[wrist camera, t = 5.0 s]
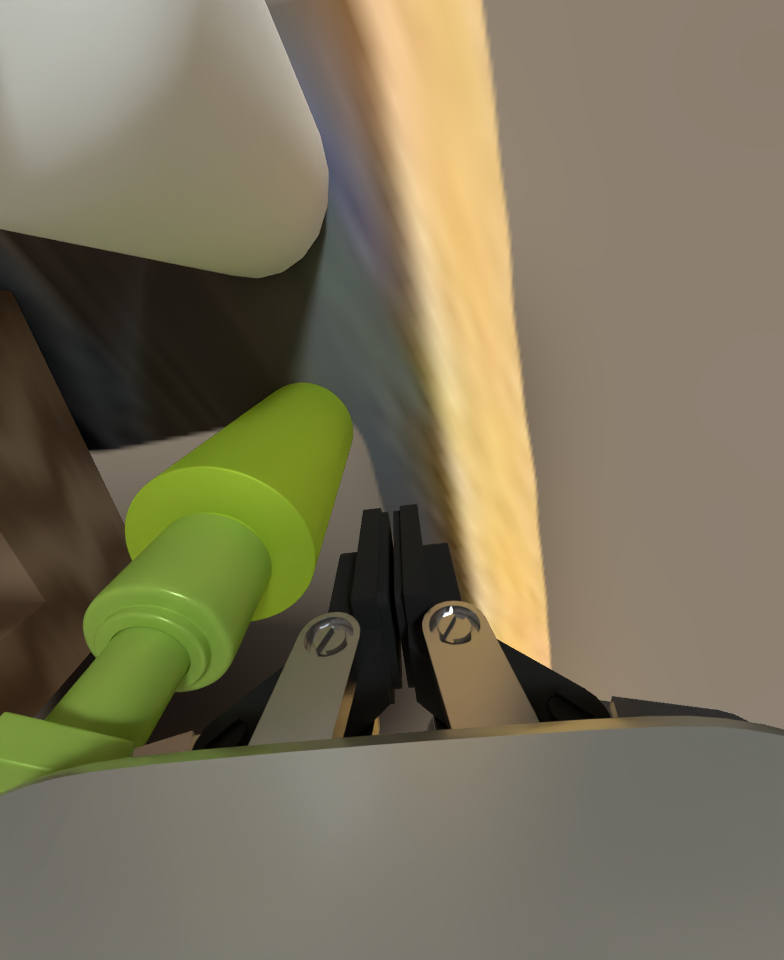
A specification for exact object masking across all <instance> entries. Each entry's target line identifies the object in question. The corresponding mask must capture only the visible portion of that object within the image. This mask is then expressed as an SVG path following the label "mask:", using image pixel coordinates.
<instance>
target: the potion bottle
mask: <svg viewBox="0 0 784 960" xmlns="http://www.w3.org/2000/svg"><path fill="white" fill-rule="evenodd" d="M328 175H329V171H328V167H327V163H326V158H325V154H324V149H323V145H322V141H321V136H320V134H319V131H318V129H317V127H316V124H315V122H314V119H313V117H312V114H311V112H310V110H309V107H308V105H307V102H306V100H305V97H304V95H303V93H302V90H301V88H300V85H299V83H298V80H297V78H296V76H295V73H294V71H293V68H292V66H291V63H290V61H289V59H288V56H287V54H286V51H285V49H284V46H283V44H282V42H281V39H280V37H279V34H278V32H277V29H276V27H275V24H274V22H273V20H272V17H271V15H270V12H269V10H268V7H267V5H266V3H265V0H0V229H2V230H7V231H12V232H17V233H22V234H27V235H32V236H37V237H42V238H47V239H52V240H57V241H62V242H67V243H72V244H77V245H82V246H87V247H92V248H97V249H102V250H107V251H112V252H117V253H122V254H127V255H132V256H137V257H142V258H147V259H152V260H157V261H162V262H167V263H172V264H177V265H182V266H187V267H192V268H197V269H202V270H207V271H212V272H217V273H222V274H227V275H232V276H241V277H250V278H262V277H266V276H270V275H274V274H278V273H282V272H283V271H285V270H286V269H288V268H289V267H291V266H292V265H293V264H295V263H296V262H298V261H299V260H300V259H302V258H303V257H304V256H305V254H306V253H307V251H308V250H309V248H310V247H311V245H312V244H313V243H314V241H315V240H316V238H317V237H318V235H319V232H320V229H321V226H322V223H323V219H324V216H325V213H326V209H327V206H328Z"/></svg>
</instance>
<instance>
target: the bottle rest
mask: <svg viewBox="0 0 784 960" xmlns="http://www.w3.org/2000/svg"><path fill="white" fill-rule="evenodd" d="M131 562H132V559H131V557H130V554H129V552H128V548H127V544H126V539H125V525H124V523H123V521H122V519H121V517H120V515H119V513H118V511H117V509H116V507H115V505H114V502H113V501H112V498H111V496H110V494H109V492H108V490H107V488H106V486H105V484H104V482H103V480H102V478H101V476H100V473H99V471H98V469H97V467H96V465H95V463H94V461H93V459H92V457H91V455H90V453H89V451H88V448H87V446H86V444H85V442H84V440H83V438H82V436H81V434H80V432H79V430H78V428H77V426H76V424H75V421H74V419H73V417H72V415H71V413H70V411H69V409H68V407H67V405H66V403H65V401H64V399H63V397H62V395H61V392H60V390H59V388H58V386H57V384H56V382H55V380H54V378H53V376H52V374H51V372H50V370H49V368H48V365H47V363H46V361H45V359H44V357H43V355H42V353H41V351H40V349H39V347H38V345H37V343H36V341H35V339H34V336H33V334H32V332H31V330H30V328H29V326H28V324H27V322H26V320H25V318H24V316H23V314H22V312H21V310H20V307H19V305H18V303H17V301H16V299H15V297H14V295H13V293H12V291H8V290H0V716H1V715H2V714H3V713H4V712H10V713H14V714H19V715H23V716H28V717H32V718H34V716H35V715H36V714H37V713H38V712H39V710H40V709H41V708H42V707H43V706H44V705H45V704H46V703H47V702H48V700H49V699H50V698H51V697H52V696H53V695H54V693H55V692H56V691H57V690H58V689H59V688H60V687H61V685H62V684H63V683H64V682H65V681H66V679H68V677H69V676H70V675H71V674H72V673H73V671H75V669H76V668H77V667H78V666H79V665H80V663H82V661H83V660H84V659H85V658H86V657H87V656H88V655H89V653H90V652H91V650H90V649H89V647H88V645H87V643H86V640H85V637H84V632H83V619H84V615H85V612H86V610H87V608H88V607H89V605H90V604H91V602H92V601H93V600H94V599H95V598H96V597H97V595H98V594H99V593H100V592H101V591H102V590H103V589H104V588H105V587H106V586H107V585H108V584H109V583H110V582H111V581H112V580H113V579H115V578H116V577H117V576H118V575H119V574H120V573H121V572H122V571H123V570H124V569H125V568H126V567H127V566H128V565H129V564H130V563H131Z"/></svg>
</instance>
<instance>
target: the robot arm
mask: <svg viewBox="0 0 784 960" xmlns="http://www.w3.org/2000/svg"><path fill="white" fill-rule="evenodd" d="M393 522H394V547H393V540H392V533H391V526H390V520H389V513H388V512H382V510H381V508H378V509H377V508H376V509H368V510H363V515H362V523H361V529H360V537H359V544H358V551H357V552H353V553H344V554H341V555H340V558H339V563H338V568H337V573H336V578H335V583H334V588H333V592H332V598H331V602H330V607H329V612H328V613H327V614H324V615H321V616H318V617H317V618H315V619H313V620H312V621H310V622H309V623H308V624H307V625H306V626H305V627H304V628H303V629H302V631H301V633H300V634H299V636H298V638H297V640H296V642H295V644H294V647H293V649H292V651H291V653H290V656H289V658H288V660H287V662H286V664H285V666H283V667H282V668H281V669H279V670H278V671H277V672H275V673H274V674H273V675H272V676H270V677H269V678H268V679H267V680H265V681H264V682H263V683H261V684H260V685H259V686H257V687H256V688H255V689H254V690H252V691H251V692H250V693H248V694H247V695H246V696H244V697H243V698H242V699H241V700H239V701H238V702H237V703H235V704H234V705H233V706H232V707H230V708H229V709H228V710H226V711H225V712H224V713H222V714H221V715H220V716H219V717H217V718H216V719H215V720H214V721H213V722H211V724H209V725H208V726H207V727H206V728H205V729H204V730H203V732H202V733H201V734H199V735H195V733H194V732H193V731H190V732H187V733H183V734H180V735H177V736H174V737H170V738H167V739H164V740H161V741H158V742H155V743H151V744H148V745H144V746H141V747H138V748H135V749H134V752H133V756H132V757H128V758H121V759H115V760H108V761H102V762H96V763H91V764H86V765H82V766H78V767H73V768H69V769H65V770H60V771H57V772H54V773H51V774H48V775H45V776H42V777H39V778H36V779H33V780H30V781H27V782H24V783H21V784H19V785H17V786H14V787H12V788H10V789H8V790H5V791H3V792H1V793H0V960H784V729H780V728H776V727H772V726H768V725H764V724H758V723H752V722H749V721H747V720H745V719H743V718H741V717H739V716H737V715H735V714H732V713H728V712H724V711H720V710H715V709H708V708H699V707H692V706H684V705H677V704H669V703H661V702H653V701H645V700H638V699H630V698H622V697H615V696H612V700H611V702H609V701H601V700H599V699H598V698H597V697H596V696H594V695H593V694H592V693H590V692H589V691H587V690H586V689H585V688H583V687H581V686H579V685H577V684H576V683H574V682H572V681H570V680H569V679H567V678H565V677H563V676H561V675H559V674H558V673H556V672H554V671H553V670H551V669H549V668H547V667H546V666H544V665H542V664H540V663H538V662H537V661H535V660H533V659H531V658H530V657H528V656H526V655H524V654H522V653H521V652H519V651H517V650H515V649H514V648H512V647H510V646H508V645H507V644H505V643H503V642H501V641H499V640H498V639H496V637H495V635H494V633H493V631H492V629H491V627H490V625H489V623H488V621H487V619H486V617H485V616H484V615H483V613H482V612H481V611H480V610H479V609H478V608H476V607H475V606H473V605H471V604H468V603H466V602H462V601H461V597H460V593H459V589H458V585H457V580H456V576H455V572H454V568H453V564H452V560H451V555H450V551H449V547H448V544H447V543H440V544H430V545H422V538H421V530H420V523H419V515H418V507H417V504H413V505H404V506H400V511H393ZM401 643H402V649H403V656H404V662H405V668H406V675H407V681H408V687H409V688H414V687H415V692H416V698H417V702H418V703H420V704H421V705H422V706H423V707H424V708H426V709H427V710H428V711H429V712H430V713H432V714H433V719H434V725H435V729H436V730H434V731H422V732H409V733H398V734H385V735H384V734H383V735H378V733H379V726H380V719H379V715H380V714H381V713H382V712H383V711H384V710H385V709H386V708H387V707H388V706H389V705H390V704H395V689H402V664H401V663H402V662H401Z"/></svg>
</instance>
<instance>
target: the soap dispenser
mask: <svg viewBox="0 0 784 960" xmlns="http://www.w3.org/2000/svg"><path fill="white" fill-rule="evenodd" d="M352 440H353V424H352V420H351V417H350V414H349V412H348V410H347V408H346V407H345V405H344V404H343V403H342V401H341V400H340V399H339V398H338V397H337V396H336V395H335V394H333V393H332V392H330V391H329V390H327V389H325V388H323V387H321V386H318V385H315V384H311V383H293V384H289V385H286V386H283V387H281V388H279V389H278V390H276V391H275V392H273V393H272V394H271V395H269V396H268V397H266V398H265V399H264V400H262V401H261V402H259V403H258V404H257V405H255V406H254V407H253V408H251V409H250V410H248V411H247V412H246V413H244V414H243V415H241V416H240V417H239V418H237V419H236V420H234V421H233V422H232V423H230V424H229V425H228V426H226V427H225V428H223V429H222V430H221V431H219V432H218V433H216V434H215V435H214V436H212V437H211V438H210V439H208V440H207V441H205V442H204V443H203V444H201V445H200V446H198V447H197V448H196V449H194V450H193V451H191V452H190V453H189V454H187V455H186V456H184V457H183V458H182V459H180V460H179V461H178V462H176V463H175V464H173V465H172V466H171V467H169V468H168V469H166V470H165V471H164V472H162V473H161V474H160V475H158V476H157V477H155V478H154V479H153V480H151V481H150V482H149V483H147V484H146V485H145V486H144V487H143V488H142V489H141V490H140V491H139V492H138V493H137V495H136V496H135V498H134V499H133V501H132V503H131V505H130V507H129V509H128V512H127V516H126V521H125V539H126V544H127V548H128V552H129V554H130V557H131V559H132V562H131V563H130V564H129V565H128V566H127V567H126V568H125V569H124V570H123V571H122V572H121V573H120V574H119V575H118V576H117V577H116V578H115V579H113V580H112V581H111V582H110V583H109V584H108V585H107V586H106V587H105V588H104V589H103V590H102V591H101V592H100V593H99V594H98V595H97V597H96V598H95V599H94V600H93V601H92V602H91V604H90V605H89V607H88V608H87V610H86V612H85V615H84V619H83V632H84V637H85V640H86V643H87V645H88V647H89V649H90V650H91V652H92V653H93V655H94V656H95V657H96V659H95V660H94V661H93V663H92V664H91V665H90V666H89V668H88V669H87V670H86V671H85V672H84V673H83V674H82V676H81V677H80V678H79V679H78V681H77V682H76V683H75V684H74V685H73V686H72V688H71V689H70V690H69V691H68V692H67V693H66V695H65V696H64V697H63V698H62V699H61V701H60V702H59V703H58V704H57V705H56V707H55V708H54V709H53V710H52V712H50V714H49V715H48V716H47V717H46V719H45V720H40V719H36V718H32V717H28V716H23V715H19V714H14V713H10V712H4V713H3V714H2V715H1V716H0V793H1V792H3V791H5V790H8V789H10V788H12V787H14V786H17V785H19V784H21V783H24V782H27V781H30V780H33V779H36V778H39V777H42V776H45V775H48V774H51V773H54V772H57V771H60V770H65V769H69V768H73V767H78V766H82V765H86V764H91V763H96V762H102V761H108V760H115V759H121V758H128V757H132V756H133V752H134V749H135V748H138V747H141V746H144V745H145V744H146V742H147V740H148V738H149V737H150V735H151V733H152V731H153V730H154V728H155V726H156V724H157V722H158V720H159V719H160V717H161V715H162V713H163V712H164V710H165V708H166V706H167V705H168V703H169V701H170V699H171V698H172V696H173V694H174V692H185V691H191V690H196V689H200V688H203V687H205V686H207V685H209V684H211V683H213V682H215V681H216V680H218V679H219V678H220V677H221V676H222V675H223V674H224V673H225V672H226V671H227V669H228V668H229V666H230V665H231V663H232V661H233V659H234V657H235V655H236V653H237V650H238V648H239V646H240V644H241V642H242V639H243V637H244V635H245V633H246V630H247V628H248V626H249V624H250V622H251V621H256V620H261V619H265V618H268V617H271V616H274V615H276V614H278V613H280V612H282V611H284V610H286V609H287V608H289V607H290V606H291V605H293V604H294V603H295V602H296V601H297V600H298V599H299V598H300V597H301V596H302V595H303V593H304V592H305V591H306V589H307V588H308V586H309V584H310V582H311V580H312V577H313V573H314V571H315V567H316V564H317V560H318V557H319V553H320V550H321V547H322V543H323V540H324V536H325V533H326V529H327V526H328V522H329V519H330V516H331V512H332V509H333V505H334V502H335V499H336V495H337V492H338V488H339V485H340V482H341V478H342V474H343V471H344V468H345V464H346V461H347V457H348V454H349V451H350V447H351V444H352Z"/></svg>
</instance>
